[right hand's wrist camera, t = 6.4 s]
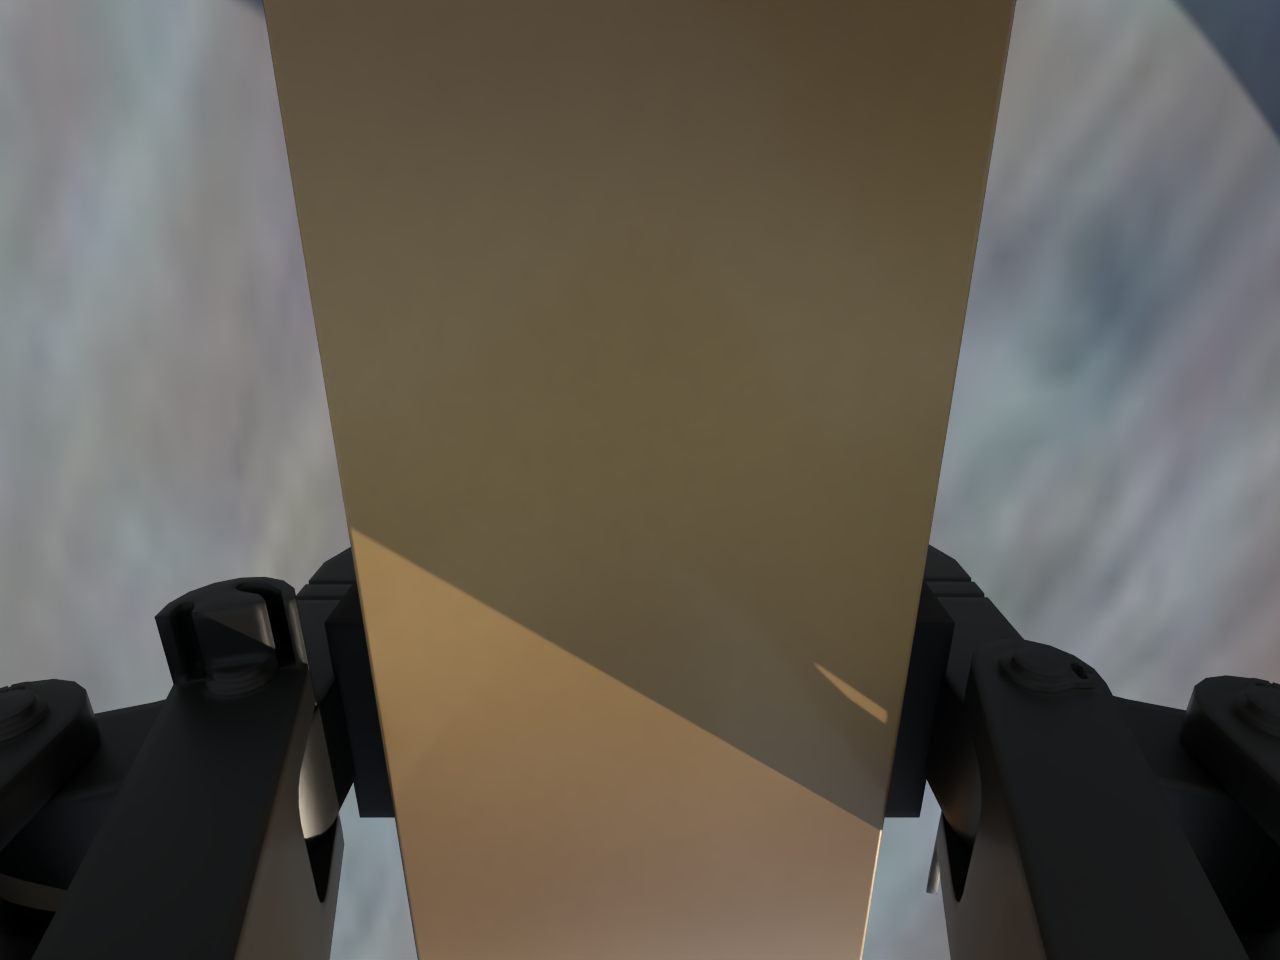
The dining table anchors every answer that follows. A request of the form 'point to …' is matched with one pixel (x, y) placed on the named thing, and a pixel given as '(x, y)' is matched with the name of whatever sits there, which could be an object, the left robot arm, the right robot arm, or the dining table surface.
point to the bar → (639, 438)
